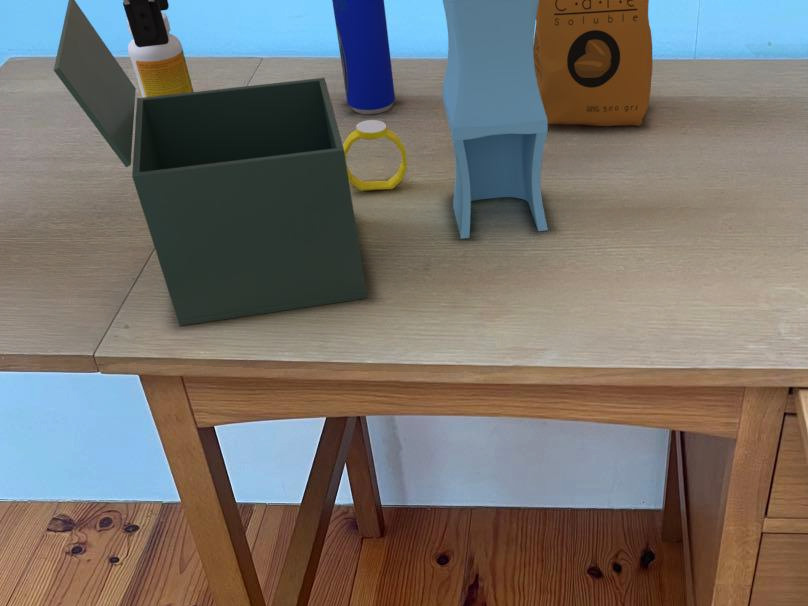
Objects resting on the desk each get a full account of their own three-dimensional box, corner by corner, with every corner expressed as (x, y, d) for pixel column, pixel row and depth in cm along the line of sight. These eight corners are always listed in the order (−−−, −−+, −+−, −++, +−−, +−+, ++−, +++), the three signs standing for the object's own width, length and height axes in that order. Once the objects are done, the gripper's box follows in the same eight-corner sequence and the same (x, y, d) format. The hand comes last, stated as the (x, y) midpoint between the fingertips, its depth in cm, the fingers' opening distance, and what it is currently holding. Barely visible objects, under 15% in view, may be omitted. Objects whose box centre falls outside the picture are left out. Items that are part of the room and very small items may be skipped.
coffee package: (649, 136, 103) (666, -113, 87) (528, 136, 103) (523, -113, 88) (647, 97, 110) (661, -141, 94) (533, 96, 110) (529, -141, 95)
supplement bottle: (208, 113, 108) (184, 16, 101) (163, 128, 106) (135, 31, 99) (182, 99, 111) (157, 4, 104) (138, 114, 108) (109, 17, 101)
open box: (179, 326, 80) (131, 175, 71) (178, 240, 89) (136, 98, 80) (367, 298, 82) (344, 150, 73) (347, 217, 92) (324, 77, 83)
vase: (533, 189, 95) (529, -46, 81) (548, 230, 90) (546, -14, 75) (450, 197, 94) (432, -40, 80) (460, 238, 89) (442, -7, 75)
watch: (347, 198, 95) (337, 135, 90) (345, 184, 96) (335, 122, 92) (410, 191, 95) (403, 129, 91) (407, 178, 97) (400, 116, 93)
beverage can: (357, 94, 111) (335, -58, 100) (401, 98, 110) (385, -55, 100) (341, 114, 108) (317, -42, 97) (387, 117, 107) (368, -39, 96)
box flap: (130, 165, 71) (126, 167, 71) (135, 88, 80) (131, 90, 80) (58, 67, 65) (53, 70, 65) (73, -3, 75) (68, 0, 75)
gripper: (58, -192, 95) (118, 2, 108) (43, -149, 84) (112, 64, 96) (140, -199, 96) (190, -6, 109) (136, -157, 85) (192, 54, 97)
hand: (153, 27), depth 102 cm, fingers open, 9 cm apart
